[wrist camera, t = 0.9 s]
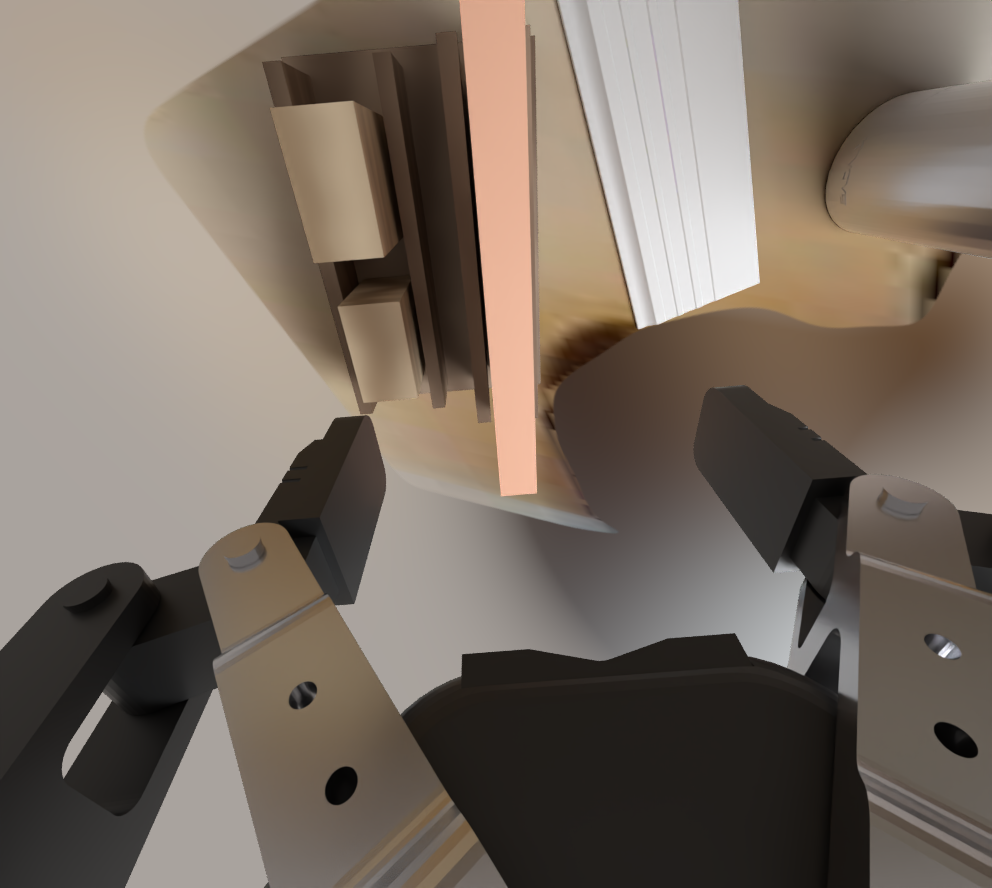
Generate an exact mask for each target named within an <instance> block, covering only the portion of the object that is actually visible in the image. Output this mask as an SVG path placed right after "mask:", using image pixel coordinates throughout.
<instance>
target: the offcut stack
mask: <svg viewBox="0 0 992 888" xmlns="http://www.w3.org/2000/svg"><path fill="white" fill-rule="evenodd" d="M270 111H271V114H272V118H273V122H274V125H275V129H276V132H277V136H278V139H279V143H280V146H281V150H282V153H283V157H284V160H285V164H286V167H287V171H288V174H289V178H290V181H291V185H292V188H293V192H294V195H295V199H296V202H297V206H298V209H299V213H300V216H301V220H302V223H303V227H304V230H305V234H306V237H307V241H308V244H309V248H310V251H311V255H312V259H313V262H314V263H324V262H336V261H348V260H359V259H371V258H383V257H385V256H386V255H387V254H388V253H389V252H390V251H391V250H392V249H393V247H394V246H395V245H396V244H397V243H398V242H399V241H400V240H401V239H402V238H403V237H404V236H403V230H402V225H401V219H400V213H399V207H398V201H397V195H396V190H395V184H394V178H393V172H392V166H391V161H390V155H389V149H388V143H387V137H386V132H385V126H384V120H383V116H382V115H380V114H378V113H376V112H374V111H372V110H370V109H368V108H366V107H364V106H362V105H360V104H358V103H356V102H354V101H344V102H333V103H321V104H309V105H298V106H286V107H274V108H270ZM338 310H339V314H340V317H341V321H342V325H343V329H344V332H345V336H346V340H347V343H348V347H349V351H350V354H351V358H352V362H353V366H354V369H355V373H356V377H357V380H358V384H359V388H360V391H361V395H362V399H363V403H369V402H381V401H393V400H405V399H417V398H418V396H419V392H420V387H421V383H422V379H423V375H424V371H425V366H426V364H425V358H424V353H423V347H422V341H421V335H420V329H419V323H418V318H417V312H416V306H415V300H414V294H413V289H412V283H411V277H410V275H404V276H392V277H380V278H368V279H363V281H362V282H361V283H360V284H359V285H358V286H357V287H356V288H355V289H354V290H353V291H352V292H351V293H350V294H349V295H348V296H347V297H346V298H345V300H344V301H343V302H342V303H341V304H340V305H339V306H338Z"/></svg>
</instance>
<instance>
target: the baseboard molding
mask: <svg viewBox="0 0 992 888" xmlns="http://www.w3.org/2000/svg"><path fill="white" fill-rule="evenodd" d="M557 4H558V8H559V12H560V16H561V20H562V24H563V28H564V32H565V36H566V40H567V44H568V48H569V53H570V57H571V61H572V65H573V69H574V73H575V77H576V81H577V85H578V89H579V93H580V97H581V101H582V106H583V110H584V114H585V118H586V122H587V126H588V130H589V134H590V138H591V142H592V146H593V150H594V154H595V159H596V163H597V167H598V171H599V175H600V179H601V183H602V187H603V191H604V195H605V199H606V203H607V207H608V212H609V216H610V220H611V224H612V228H613V232H614V236H615V240H616V244H617V248H618V252H619V256H620V260H621V265H622V269H623V273H624V277H625V281H626V285H627V289H628V293H629V297H630V301H631V305H632V309H633V313H634V318H635V322H636V326H637V329H641V328H643V327H646V326H649V325H658V324H660V323H663V322H665V321H666V320H669V319H671V318H674V317H676V316H680V315H682V314H684V313H686V312H688V311H691V310H693V309H696V308H699V307H702V306H703V305H705V304H708V303H710V302H713V301H716V300H719V299H721V298H724V297H726V296H729V295H731V294H734V293H736V292H738V291H741V290H743V289H746V288H748V287H751V286H753V285H756V284H758V283H760V280H759V267H758V254H757V241H756V228H755V215H754V202H753V189H752V176H751V162H750V149H749V136H748V123H747V110H746V97H745V84H744V71H743V58H742V44H741V31H740V18H739V5H738V0H557Z"/></svg>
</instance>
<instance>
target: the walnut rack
mask: <svg viewBox="0 0 992 888" xmlns="http://www.w3.org/2000/svg"><path fill="white" fill-rule="evenodd" d="M525 37H526V77H527V117H528V157H529V198H530V238H531V278H532V318H533V359H534V399H535V418H538V389H537V384H540V327H539V264H538V202H537V140H536V77H535V36H530V25H525ZM436 41H437V44H431V45H419V46H408V47H396V48H384V49H373V50H361V51H350V52H338V53H326V54H315V55H303V56H292V57H281V59H282V61H270V62H262V63H263V67H264V70H265V74H266V78H267V81H268V85H269V88H270V92H271V95H272V99H273V103H274V106H275V107H286V106H298V105H309V104H321V103H333V102H344V101H354V102H356V103H358V104H360V105H362V106H364V107H366V108H368V109H370V110H372V111H374V112H376V113H378V114H380V115H382V116H383V120H384V126H385V132H386V137H387V143H388V149H389V155H390V161H391V166H392V172H393V178H394V184H395V190H396V195H397V201H398V207H399V213H400V219H401V225H402V230H403V236H404V237H403V238H402V239H401V240H400V241H399V242H398V243H397V244H396V245H395V246H394V247H393V249H392V250H391V251H390V252H389V253H388V254H387V255H386V256H385V257H383V258H371V259H359V260H348V261H336V262H324V263H318V264H319V267H320V271H321V275H322V278H323V282H324V285H325V289H326V292H327V296H328V300H329V303H330V307H331V310H332V314H333V317H334V321H335V325H336V328H337V332H338V335H339V339H340V343H341V346H342V350H343V353H344V357H345V360H346V364H347V368H348V371H349V375H350V378H351V382H352V386H353V389H354V393H355V396H356V400H357V403H358V407H359V411H360V414H371V413H373V411H374V409H375V406H376V404H377V402H369V403H363V399H362V395H361V391H360V388H359V384H358V380H357V377H356V373H355V369H354V366H353V362H352V358H351V354H350V351H349V347H348V343H347V340H346V336H345V332H344V329H343V325H342V321H341V317H340V314H339V310H338V306H339V305H340V304H341V303H342V302H343V301H344V300H345V298H346V297H347V296H348V295H349V294H350V293H351V292H352V291H353V290H354V289H355V288H356V287H357V286H358V285H359V284H360V283H361V282H362V281H363V279H368V278H380V277H392V276H404V275H410V277H411V283H412V289H413V294H414V300H415V306H416V312H417V318H418V323H419V329H420V335H421V341H422V347H423V353H424V358H425V364H426V366H425V371H424V375H423V379H422V383H421V387H420V392H419V394H423V393H431V399H432V405H433V408H443V407H445V405H446V396H447V391H459V390H471V389H474V390H475V399H476V408H477V417H478V423H484V422H491V412H490V397H489V388H492V382H491V370H490V358H489V346H488V334H487V323H486V311H485V299H484V287H483V275H482V263H481V251H480V239H479V228H478V216H477V204H476V192H475V180H474V168H473V156H472V144H471V133H470V121H469V109H468V97H467V85H466V73H465V61H464V49H463V42H458V41H457V34H456V31H452V32H440V33H436Z"/></svg>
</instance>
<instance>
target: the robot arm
mask: <svg viewBox="0 0 992 888" xmlns="http://www.w3.org/2000/svg"><path fill="white" fill-rule="evenodd" d="M826 204H827V208H828V212H829V214H830V216H831V218H832V220H833V221H834V222H835V223H836V224H837V225H838V226H839V227H840V228H842V229H844V230H846V231H848V232H852V233H858V234H863V235H868V236H873V237H879V238H884V239H888V240H893V241H898V242H904V243H909V244H915V245H920V246H925V247H931V248H936V249H942V250H947V251H952V252H958V253H963V254H969V255H974V256H980V257H985V258H991V259H992V80H988V81H982V82H975V83H968V84H961V85H955V86H949V87H942V88H936V89H930V90H924V91H917V92H911V93H907V94H904V95H901V96H898V97H895V98H893V99H891V100H889V101H887V102H886V103H884V104H882V105H880V106H879V107H878V108H876V109H875V110H874V111H872V112H871V113H870V114H868V115H867V116H866V117H865V118H864V119H863V120H862V121H861V122H860V123H859V124H858V125H857V126H856V127H855V128H854V129H853V131H852V132H851V133H850V135H849V136H848V137H847V139H846V140H845V141H844V143H843V144H842V146H841V148H840V150H839V151H838V153H837V155H836V157H835V159H834V162H833V164H832V167H831V169H830V172H829V176H828V180H827V185H826ZM694 458H695V462H696V465H697V467H698V469H699V470H700V472H701V473H702V475H703V476H704V477H705V479H706V480H707V481H708V483H709V484H710V485H711V487H712V488H713V490H714V491H715V492H716V494H717V495H718V497H719V498H720V499H721V501H722V502H723V504H724V505H725V506H726V508H727V509H728V511H729V512H730V513H731V515H732V516H733V517H734V519H735V520H736V522H737V523H738V524H739V526H740V527H741V528H742V530H743V531H744V533H745V534H746V535H747V537H748V538H749V539H750V541H751V542H752V544H753V545H754V546H755V548H756V549H757V550H758V552H759V553H760V555H761V556H762V557H763V559H764V560H765V562H766V563H767V564H768V566H769V567H770V569H771V570H772V571H773V573H778V572H790V571H801V572H802V573H803V575H804V576H805V579H804V581H803V583H802V585H801V587H800V591H799V597H798V605H797V610H796V617H795V624H794V630H793V638H792V644H791V651H790V657H789V662H788V666H787V668H785V667H783V666H780V665H777V664H775V663H772V662H768V661H765V660H761V659H757V658H753V657H748V656H747V654H746V653H745V651H744V649H743V647H742V645H741V643H740V642H739V640H738V638H737V636H736V634H735V633H733V634H721V635H707V636H694V637H682V638H669V639H665V640H663V641H660V642H657V643H654V644H651V645H648V646H646V647H643V648H640V649H638V650H635V651H632V652H629V653H626V654H623V655H621V656H618V657H615V658H613V659H609V660H606V661H594V660H588V659H582V658H577V657H571V656H565V655H559V654H553V653H547V652H542V651H536V650H530V649H526V650H513V651H500V652H486V653H473V654H463V655H462V676H461V677H458V678H455V679H453V680H450V681H448V682H446V683H444V684H442V685H440V686H438V687H436V688H434V689H433V690H431V691H430V692H428V693H427V694H425V695H423V696H422V697H420V698H419V699H418V700H417V701H415V702H414V703H413V704H412V705H411V706H409V707H408V708H407V709H406V710H405V711H404V712H403V713H402V714H401V715H400V714H399V712H398V710H397V708H396V707H395V705H394V703H393V702H392V700H391V698H390V697H389V695H388V693H387V692H386V690H385V689H384V687H383V685H382V683H381V682H380V680H379V678H378V677H377V675H376V673H375V672H374V670H373V668H372V667H371V665H370V663H369V662H368V660H367V658H366V657H365V655H364V653H363V652H362V650H361V648H360V647H359V645H358V644H357V642H356V640H355V638H354V637H353V635H352V633H351V632H350V630H349V628H348V627H347V625H346V623H345V622H344V620H343V618H342V617H341V615H340V613H339V611H338V610H337V608H336V607H335V605H347V604H354V603H355V600H356V596H357V592H358V589H359V585H360V582H361V578H362V574H363V571H364V567H365V564H366V560H367V556H368V553H369V549H370V546H371V542H372V538H373V535H374V531H375V528H376V524H377V521H378V517H379V513H380V510H381V506H382V503H383V499H384V495H385V491H386V474H385V468H384V464H383V461H382V457H381V453H380V449H379V445H378V442H377V438H376V434H375V430H374V427H373V423H372V421H371V419H370V417H369V416H367V415H365V416H352V417H340V418H335V419H334V421H333V422H332V424H331V426H330V427H329V429H328V431H327V433H326V435H325V437H324V438H323V439H321V440H314V441H313V442H312V443H311V444H310V445H308V446H307V447H306V448H305V449H303V450H302V451H301V452H299V453H298V455H297V456H296V458H295V460H294V461H293V463H292V465H291V466H290V471H287V473H286V474H285V476H284V478H283V479H282V483H280V484H279V486H278V488H277V489H276V491H275V492H274V494H273V495H272V497H271V499H270V500H269V502H268V504H267V505H266V507H265V508H264V510H263V512H262V513H261V515H260V517H259V518H258V520H257V521H256V523H255V524H253V525H248V526H245V527H243V528H240V529H237V530H235V531H233V532H231V533H229V534H228V535H226V536H224V537H223V538H221V539H220V540H219V541H217V542H216V543H215V544H214V545H213V546H212V547H211V548H210V549H209V550H208V551H207V552H206V553H205V555H204V556H203V558H202V560H201V562H200V564H199V566H198V567H194V568H191V569H188V570H184V571H181V572H178V573H175V574H171V575H168V576H165V577H162V578H158V579H155V580H151V579H150V578H149V577H148V575H147V574H146V573H145V571H144V570H143V569H142V568H141V567H140V566H139V565H138V564H134V563H129V562H124V563H123V562H122V563H115V564H110V565H107V566H103V567H100V568H97V569H95V570H92V571H90V572H88V573H86V574H84V575H82V576H80V577H78V578H76V579H74V580H73V581H71V582H70V583H68V584H66V585H65V586H64V587H62V588H61V589H59V590H58V591H57V592H56V593H55V594H53V595H52V596H51V597H50V598H49V599H48V600H47V601H46V602H45V603H44V604H43V605H42V606H41V607H40V608H39V609H38V610H37V612H36V613H35V614H34V615H33V616H32V617H31V618H30V619H29V620H28V622H26V623H25V625H24V626H23V627H22V628H21V629H20V630H19V631H18V632H17V633H16V634H15V636H14V637H13V638H12V639H11V640H10V641H9V642H8V643H7V644H6V645H5V646H4V647H3V649H2V650H1V651H0V888H125V886H126V884H127V881H128V879H129V877H130V875H131V872H132V870H133V868H134V866H135V863H136V861H137V859H138V856H139V854H140V852H141V850H142V848H143V845H144V843H145V841H146V839H147V836H148V834H149V832H150V830H151V827H152V825H153V823H154V821H155V818H156V816H157V814H158V812H159V809H160V807H161V805H162V803H163V800H164V798H165V796H166V794H167V792H168V789H169V787H170V785H171V782H172V780H173V778H174V776H175V774H176V771H177V769H178V767H179V765H180V762H181V760H182V758H183V756H184V753H185V751H186V749H187V746H188V744H189V742H190V740H191V738H192V735H193V733H194V731H195V729H196V726H197V724H198V722H199V719H200V717H201V715H202V713H203V711H204V708H205V706H206V704H207V702H208V699H209V697H210V695H211V693H212V690H213V689H216V688H218V690H219V694H220V698H221V701H222V705H223V709H224V713H225V717H226V720H227V724H228V728H229V732H230V736H231V740H232V744H233V748H234V751H235V755H236V759H237V763H238V767H239V771H240V774H241V778H242V782H243V786H244V790H245V794H246V798H247V801H248V805H249V809H250V813H251V817H252V821H253V824H254V828H255V832H256V836H257V840H258V844H259V847H260V851H261V855H262V859H263V863H264V867H265V871H266V874H267V878H268V883H267V884H266V886H265V887H264V888H992V514H985V513H977V512H969V511H961V510H957V509H956V507H955V506H954V505H953V504H952V503H951V502H950V501H949V500H948V499H947V498H945V497H944V496H943V495H941V494H940V493H938V492H936V491H934V490H933V489H930V488H928V487H927V486H924V485H922V484H920V483H917V482H914V481H911V480H908V479H904V478H901V477H896V476H891V475H883V474H866V473H865V472H864V471H863V470H861V469H860V468H859V467H858V466H856V465H855V464H854V463H852V462H851V461H850V460H849V459H848V458H846V457H845V456H844V455H843V454H841V453H840V452H839V451H838V450H836V449H835V448H833V446H831V445H830V444H829V443H827V442H826V441H825V440H823V441H822V440H821V437H820V436H819V435H817V434H816V433H815V432H814V431H812V430H808V427H807V426H806V425H805V424H804V423H802V422H801V421H800V420H799V419H797V418H796V417H795V416H794V415H792V414H791V413H788V412H786V411H784V410H782V409H779V408H777V407H775V406H773V405H771V404H768V403H767V402H766V401H765V400H763V399H762V398H761V397H760V396H758V395H757V394H756V393H755V392H754V391H752V390H751V389H750V388H749V387H747V386H745V385H741V386H728V387H716V388H710V389H709V390H708V391H707V392H706V394H705V396H704V400H703V405H702V409H701V414H700V418H699V423H698V428H697V432H696V437H695V442H694ZM102 692H103V693H104V694H105V695H107V696H108V697H109V698H110V699H111V700H112V702H111V704H110V705H109V707H108V708H107V710H106V712H105V713H104V715H103V716H102V718H101V720H100V721H99V723H98V724H97V726H96V728H95V729H94V731H93V732H92V734H91V736H90V737H89V739H88V740H87V742H86V744H85V745H84V747H83V749H82V750H81V752H80V753H79V755H78V757H77V758H76V760H75V761H74V763H73V765H72V766H71V768H70V769H69V771H68V773H67V774H66V776H65V778H64V779H63V776H62V762H63V757H64V754H65V751H66V749H67V747H68V744H69V743H70V741H71V739H72V738H73V736H74V735H75V733H76V732H77V730H78V728H79V727H80V725H81V724H82V722H83V721H84V719H85V718H86V716H87V715H88V713H89V712H90V710H91V709H92V707H93V706H94V704H95V702H96V701H97V699H98V698H99V696H100V695H101V693H102Z"/></svg>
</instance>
